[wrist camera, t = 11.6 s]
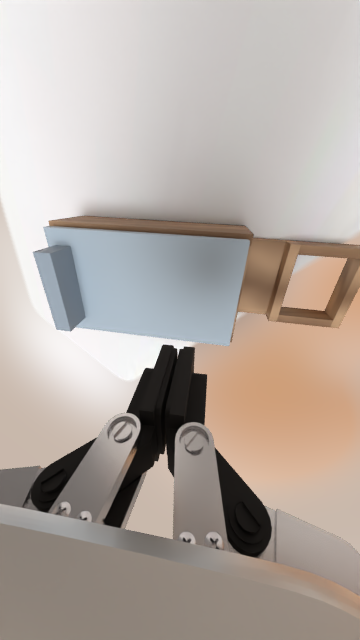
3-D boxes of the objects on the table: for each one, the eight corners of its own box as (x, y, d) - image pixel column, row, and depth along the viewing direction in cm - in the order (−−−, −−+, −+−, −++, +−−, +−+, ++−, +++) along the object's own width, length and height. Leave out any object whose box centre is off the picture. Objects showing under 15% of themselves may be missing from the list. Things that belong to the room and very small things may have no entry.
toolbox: (83, 215, 27) (48, 220, 21) (368, 233, 23) (417, 245, 18) (98, 301, 33) (74, 323, 27) (325, 326, 29) (351, 356, 24)
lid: (50, 225, 21) (17, 231, 18) (248, 239, 19) (255, 249, 15) (74, 322, 27) (53, 340, 23) (228, 340, 25) (230, 364, 21)
